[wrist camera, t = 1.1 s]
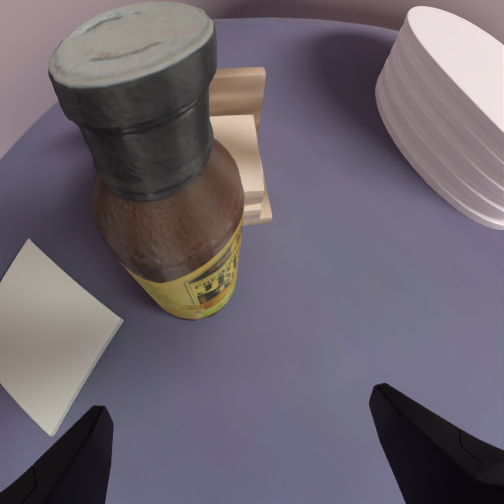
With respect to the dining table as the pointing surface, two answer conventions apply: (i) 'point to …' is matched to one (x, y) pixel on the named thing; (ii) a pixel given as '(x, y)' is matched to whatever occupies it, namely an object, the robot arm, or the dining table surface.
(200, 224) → the sauce bottle
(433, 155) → the plate stack
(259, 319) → the dining table surface
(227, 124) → the offcut rack
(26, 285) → the cream tile board
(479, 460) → the robot arm
